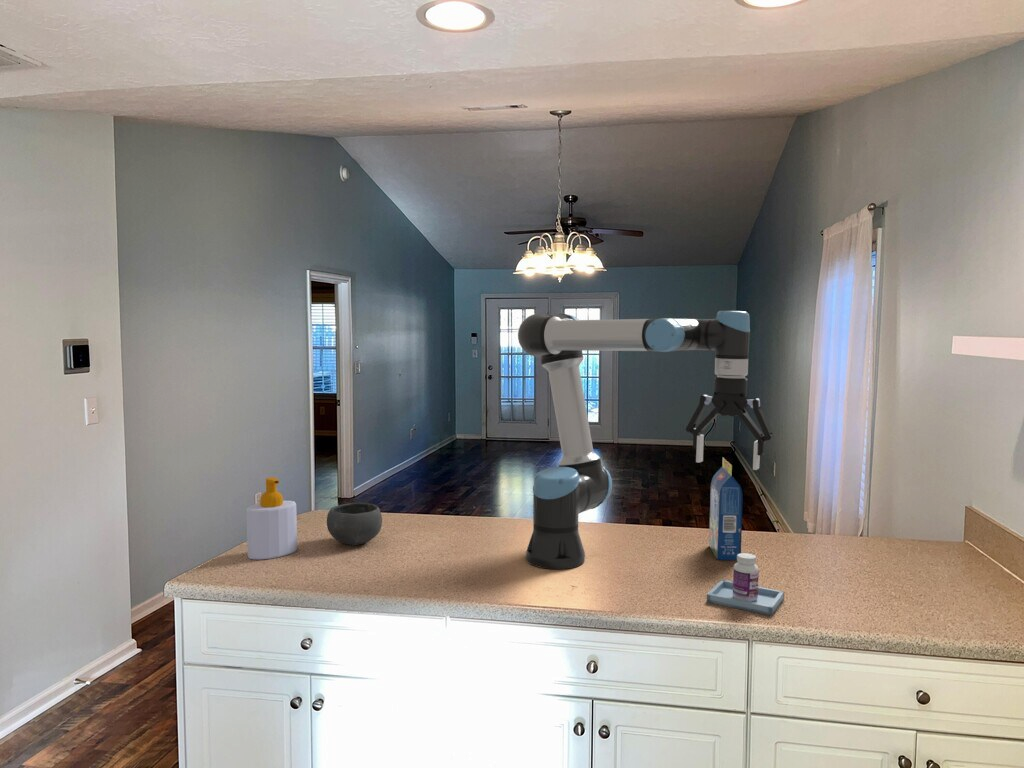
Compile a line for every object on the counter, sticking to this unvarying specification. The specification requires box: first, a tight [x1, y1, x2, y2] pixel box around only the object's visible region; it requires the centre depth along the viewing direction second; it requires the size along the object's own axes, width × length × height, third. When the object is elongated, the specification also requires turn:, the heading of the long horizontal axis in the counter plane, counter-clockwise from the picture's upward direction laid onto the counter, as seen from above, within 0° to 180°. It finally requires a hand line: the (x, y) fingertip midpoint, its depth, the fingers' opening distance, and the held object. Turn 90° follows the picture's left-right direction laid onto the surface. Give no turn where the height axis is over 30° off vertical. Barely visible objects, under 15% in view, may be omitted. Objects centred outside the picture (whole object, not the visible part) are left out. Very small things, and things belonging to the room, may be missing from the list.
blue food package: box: [708, 457, 744, 561], centre depth 195 cm, size 6×12×25 cm, turn 175°
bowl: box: [326, 502, 383, 546], centre depth 204 cm, size 15×15×10 cm
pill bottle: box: [732, 552, 760, 602], centre depth 162 cm, size 5×5×10 cm
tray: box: [706, 579, 785, 617], centre depth 163 cm, size 14×11×2 cm
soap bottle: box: [246, 476, 298, 561], centre depth 193 cm, size 13×8×20 cm, turn 131°
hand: (727, 465), depth 175 cm, fingers open, 13 cm apart
